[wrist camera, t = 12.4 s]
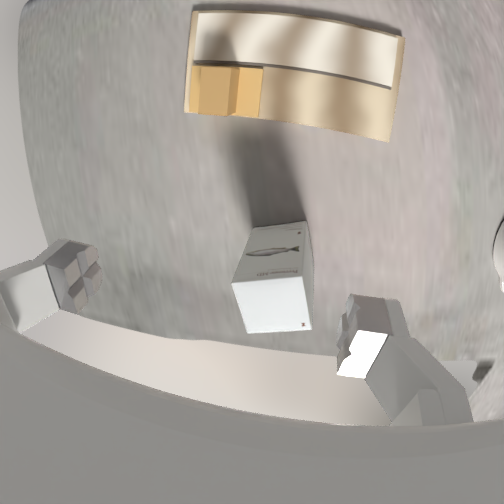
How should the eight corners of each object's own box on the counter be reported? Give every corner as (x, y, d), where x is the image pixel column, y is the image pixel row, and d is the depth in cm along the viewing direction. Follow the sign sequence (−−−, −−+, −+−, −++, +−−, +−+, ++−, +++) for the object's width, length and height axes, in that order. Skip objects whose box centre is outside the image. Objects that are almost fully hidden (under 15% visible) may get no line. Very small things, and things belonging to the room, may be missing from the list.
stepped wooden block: (263, 69, 29) (257, 66, 25) (258, 117, 32) (251, 121, 28) (193, 65, 30) (178, 64, 26) (190, 111, 33) (175, 115, 29)
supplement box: (307, 218, 39) (305, 275, 28) (314, 267, 42) (313, 332, 32) (251, 225, 41) (229, 282, 30) (263, 272, 44) (246, 336, 34)
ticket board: (402, 39, 25) (406, 37, 24) (386, 141, 32) (390, 143, 31) (195, 12, 27) (190, 10, 26) (187, 111, 34) (182, 112, 33)
